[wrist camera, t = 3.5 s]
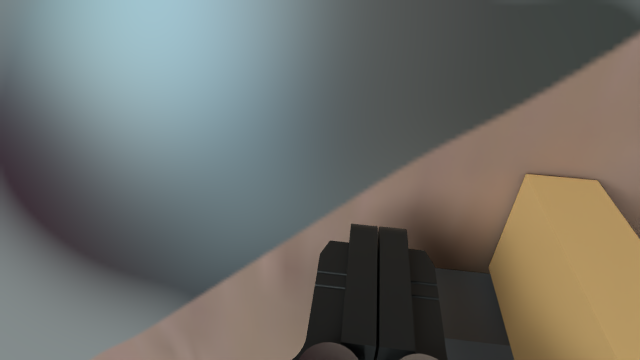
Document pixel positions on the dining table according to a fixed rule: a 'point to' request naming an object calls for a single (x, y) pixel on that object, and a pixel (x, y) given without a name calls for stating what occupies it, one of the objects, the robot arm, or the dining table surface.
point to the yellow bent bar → (568, 273)
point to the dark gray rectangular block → (471, 317)
